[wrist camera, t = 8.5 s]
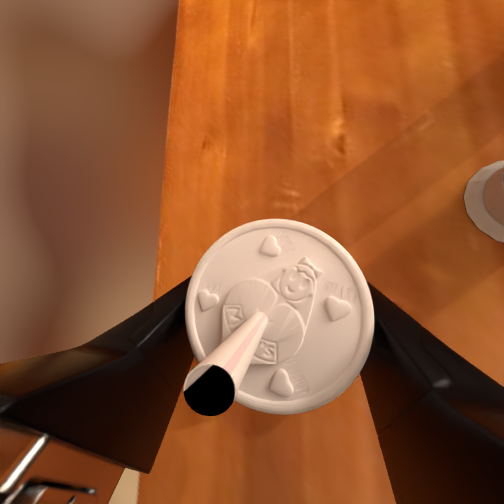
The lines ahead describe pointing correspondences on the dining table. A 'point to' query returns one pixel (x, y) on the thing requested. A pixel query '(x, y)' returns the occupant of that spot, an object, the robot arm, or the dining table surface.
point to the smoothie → (275, 320)
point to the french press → (487, 200)
